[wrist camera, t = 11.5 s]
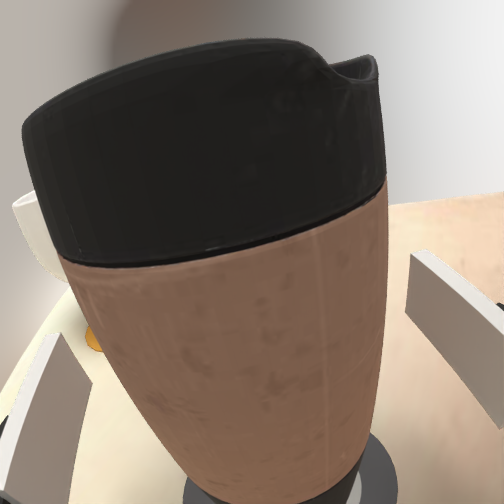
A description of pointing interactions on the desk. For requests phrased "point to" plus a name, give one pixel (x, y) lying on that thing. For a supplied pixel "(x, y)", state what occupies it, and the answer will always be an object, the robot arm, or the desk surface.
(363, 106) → the travel mug
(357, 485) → the pad
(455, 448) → the desk surface
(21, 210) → the cup
